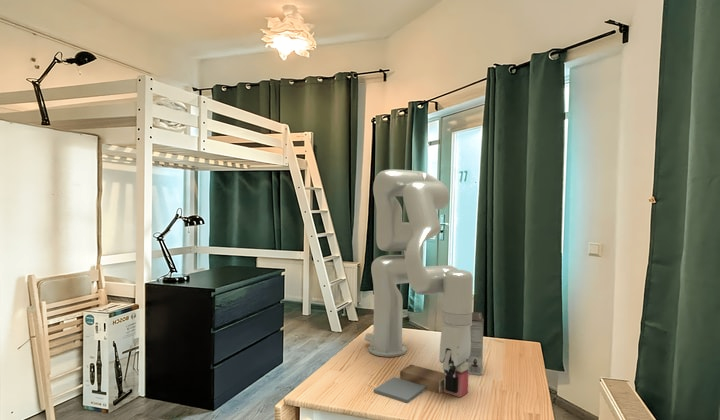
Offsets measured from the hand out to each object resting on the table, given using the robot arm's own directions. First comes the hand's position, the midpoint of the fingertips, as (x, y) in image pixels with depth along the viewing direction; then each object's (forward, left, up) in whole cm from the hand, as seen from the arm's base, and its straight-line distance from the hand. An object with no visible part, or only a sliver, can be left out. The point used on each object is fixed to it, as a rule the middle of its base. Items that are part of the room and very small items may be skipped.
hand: (455, 387), depth 113 cm
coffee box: (-3, +18, -2) cm, 18 cm away
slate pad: (-12, -8, -1) cm, 14 cm away
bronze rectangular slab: (-9, 0, -1) cm, 9 cm away
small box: (0, 0, -2) cm, 2 cm away
